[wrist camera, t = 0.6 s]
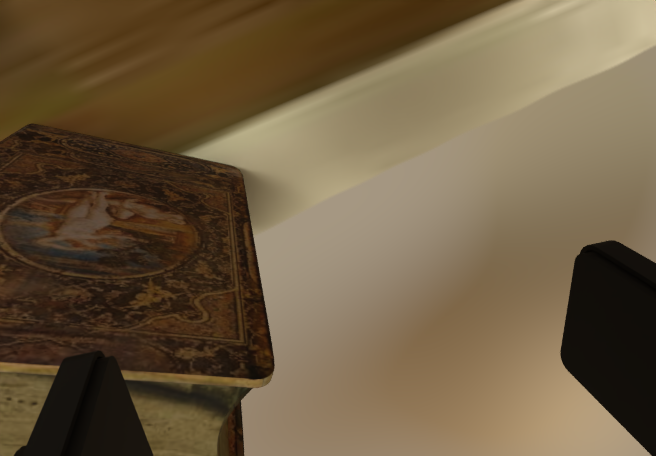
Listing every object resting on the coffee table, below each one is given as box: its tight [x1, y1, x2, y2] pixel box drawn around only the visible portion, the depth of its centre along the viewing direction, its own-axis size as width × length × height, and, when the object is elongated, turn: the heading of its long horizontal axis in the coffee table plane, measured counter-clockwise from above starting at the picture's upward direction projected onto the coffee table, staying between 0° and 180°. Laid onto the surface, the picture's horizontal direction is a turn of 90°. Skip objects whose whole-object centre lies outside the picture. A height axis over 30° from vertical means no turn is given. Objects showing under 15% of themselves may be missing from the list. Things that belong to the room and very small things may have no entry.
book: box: [0, 124, 274, 456], centre depth 26 cm, size 16×6×25 cm, turn 73°
